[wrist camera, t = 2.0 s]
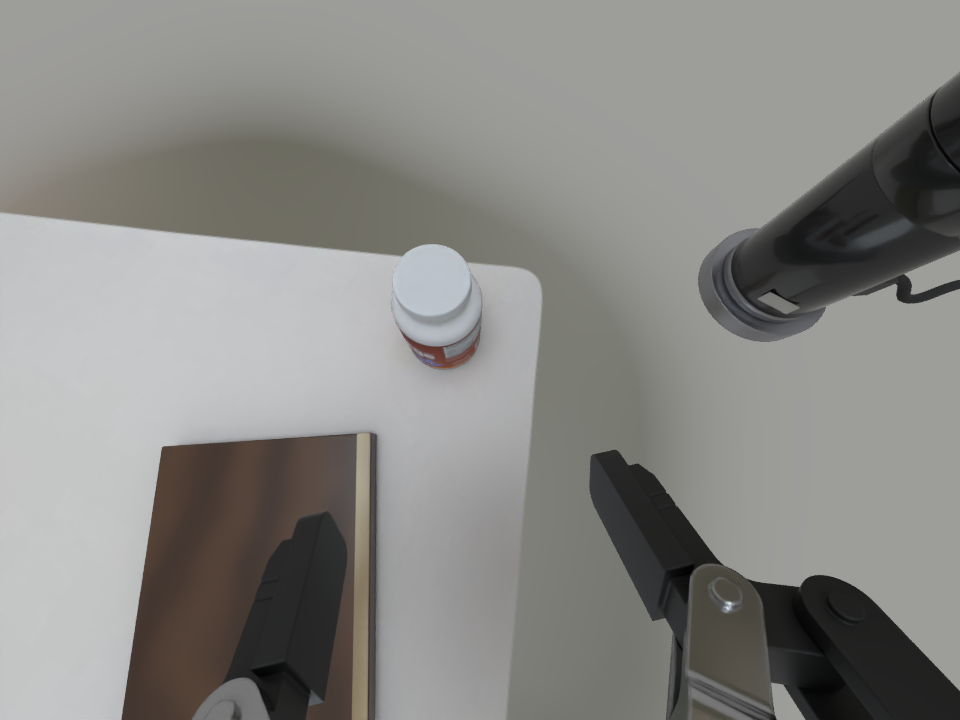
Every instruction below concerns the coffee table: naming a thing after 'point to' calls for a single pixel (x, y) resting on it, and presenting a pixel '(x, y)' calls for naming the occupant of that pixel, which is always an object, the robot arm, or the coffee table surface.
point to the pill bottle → (437, 305)
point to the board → (248, 566)
